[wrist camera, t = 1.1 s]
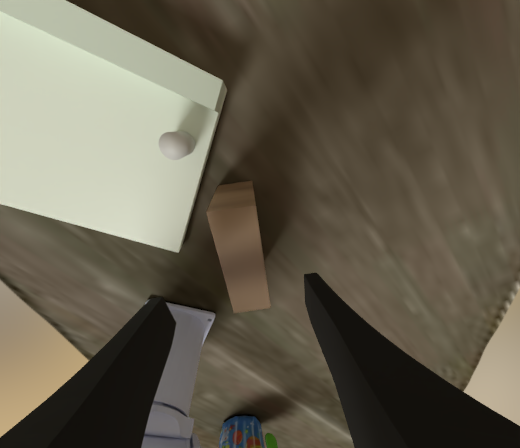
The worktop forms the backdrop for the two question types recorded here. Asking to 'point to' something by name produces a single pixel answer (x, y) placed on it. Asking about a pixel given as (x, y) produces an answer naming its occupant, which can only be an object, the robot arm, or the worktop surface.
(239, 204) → the brown tapered block
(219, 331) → the worktop surface
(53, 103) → the ledge board
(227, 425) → the snack cup
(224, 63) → the worktop surface
